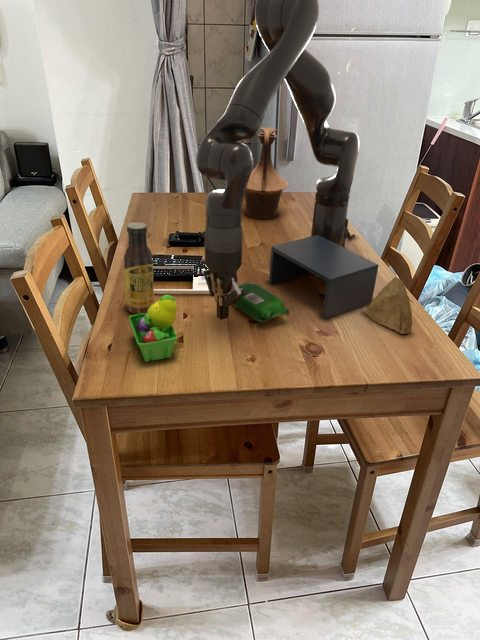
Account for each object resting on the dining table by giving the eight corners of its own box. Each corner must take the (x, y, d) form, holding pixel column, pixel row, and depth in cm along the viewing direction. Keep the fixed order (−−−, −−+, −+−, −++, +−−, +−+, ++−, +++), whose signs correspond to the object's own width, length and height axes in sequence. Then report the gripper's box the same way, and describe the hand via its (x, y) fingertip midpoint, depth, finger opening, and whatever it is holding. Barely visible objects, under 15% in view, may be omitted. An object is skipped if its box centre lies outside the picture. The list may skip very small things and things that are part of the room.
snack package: (264, 332, 109) (266, 311, 106) (223, 302, 120) (224, 282, 117) (290, 323, 113) (292, 303, 110) (248, 294, 123) (249, 275, 121)
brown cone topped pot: (288, 223, 166) (295, 134, 152) (236, 221, 166) (238, 132, 152) (284, 206, 181) (291, 123, 167) (237, 204, 181) (239, 121, 167)
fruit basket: (129, 336, 106) (125, 287, 100) (171, 329, 109) (169, 282, 103) (139, 367, 97) (135, 316, 91) (185, 359, 100) (183, 309, 94)
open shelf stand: (313, 269, 137) (317, 234, 131) (371, 302, 122) (378, 264, 117) (268, 282, 129) (271, 246, 124) (324, 319, 114) (330, 279, 109)
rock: (427, 327, 108) (414, 299, 116) (411, 301, 104) (398, 274, 111) (380, 349, 112) (370, 321, 120) (363, 325, 108) (354, 297, 115)
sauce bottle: (131, 317, 112) (123, 232, 102) (123, 305, 117) (114, 222, 107) (159, 311, 115) (154, 228, 105) (150, 299, 120) (145, 218, 109)
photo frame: (214, 289, 122) (139, 289, 121) (214, 294, 123) (139, 293, 122) (214, 264, 135) (145, 263, 134) (214, 268, 135) (146, 267, 134)
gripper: (257, 251, 99) (254, 326, 108) (221, 229, 109) (221, 300, 118) (225, 259, 96) (224, 337, 105) (190, 236, 105) (192, 309, 114)
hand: (222, 317), depth 111 cm, fingers closed
